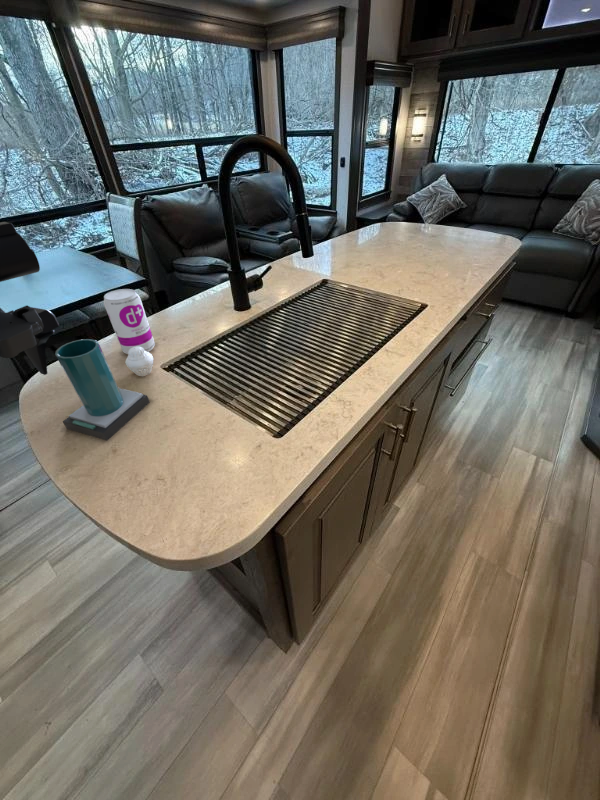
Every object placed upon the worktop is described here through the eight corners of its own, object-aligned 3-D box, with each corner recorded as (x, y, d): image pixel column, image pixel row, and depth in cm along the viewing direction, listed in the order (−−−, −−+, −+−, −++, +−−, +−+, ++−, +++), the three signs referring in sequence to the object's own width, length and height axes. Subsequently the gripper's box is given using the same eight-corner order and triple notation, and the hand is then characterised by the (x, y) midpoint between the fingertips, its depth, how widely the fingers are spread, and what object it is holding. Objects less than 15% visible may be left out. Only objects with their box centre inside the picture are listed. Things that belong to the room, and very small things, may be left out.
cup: (115, 416, 63) (87, 357, 55) (80, 417, 63) (47, 358, 55) (128, 394, 69) (104, 338, 61) (96, 395, 69) (67, 339, 60)
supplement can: (160, 349, 89) (143, 294, 79) (130, 360, 84) (108, 303, 75) (148, 338, 93) (130, 285, 84) (118, 349, 89) (96, 294, 80)
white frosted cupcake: (143, 382, 77) (134, 356, 72) (124, 376, 79) (113, 350, 74) (163, 369, 81) (154, 343, 76) (144, 363, 83) (135, 338, 79)
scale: (107, 440, 62) (101, 430, 60) (67, 429, 65) (60, 419, 63) (149, 402, 71) (146, 392, 69) (112, 393, 73) (108, 384, 72)
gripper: (-95, 334, 34) (-6, 440, 44) (61, 277, 48) (102, 367, 58) (-156, 320, 37) (-60, 422, 47) (7, 270, 51) (55, 357, 61)
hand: (18, 389), depth 53 cm, fingers open, 9 cm apart
